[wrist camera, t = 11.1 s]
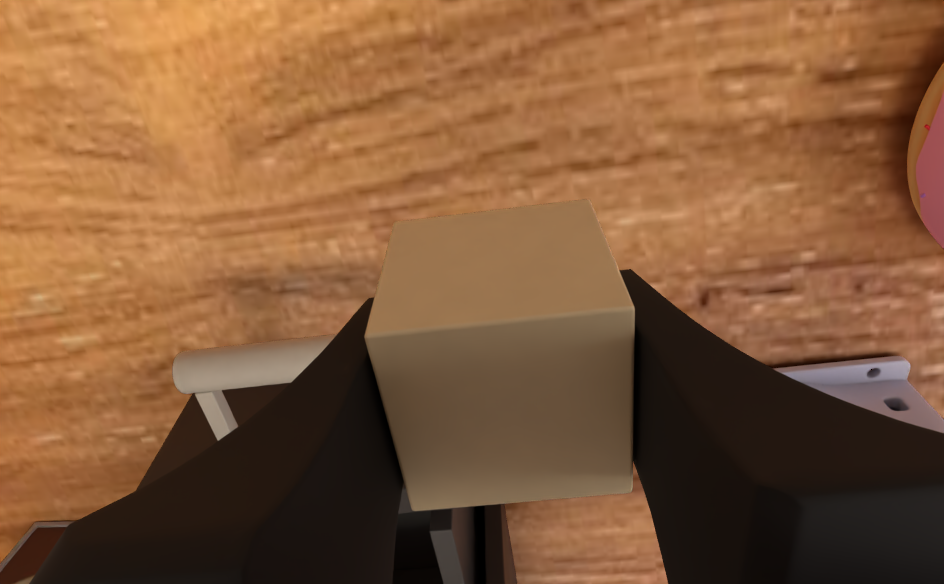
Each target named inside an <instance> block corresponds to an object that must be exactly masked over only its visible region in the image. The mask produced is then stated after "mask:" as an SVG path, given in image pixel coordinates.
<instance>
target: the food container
mask: <svg viewBox="0 0 944 584" xmlns="http://www.w3.org/2000/svg"><path fill="white" fill-rule="evenodd" d="M73 522H75V521H65V522H35V523H34V524H33V525H32V526H31V528H30V529H29V530H28V531H27V532H26V533H25V535H24V536H23V537H22V538H21V539H20V541H19V542H18V543H17V544H16V545H15V547H14V548H13V549H12V550H11V551H10V553H9V554H8V555H7V556H6V557H5V559H4V560H3V561H2V562H1V563H0V584H29V583H30V582H31V580H32V579H33V577H34V576H35V574H36V573H37V571H38V570H39V568H40V567H41V565H42V564H43V562H44V561H45V559H46V558H47V556H48V555H49V553H50V552H51V550H52V549H53V547H54V546H55V544H56V542H57V541H58V539H59V538H60V536H61V535H62V534H63V532H64V531H65V529H66V528H67V526H68V525H69V524H71V523H73Z"/></svg>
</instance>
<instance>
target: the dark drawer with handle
mask: <svg viewBox="0 0 944 584" xmlns="http://www.w3.org/2000/svg"><path fill="white" fill-rule="evenodd" d="M336 335H337V334H331V335H322V336H313V337H304V338H295V339H287V340H278V341H269V342H260V343H251V344H242V345H233V346H224V347H215V348H207V349H198V350H189V351H182V352H180V353H179V354H177V356H176V357H175V359H174V362H173V368H172V374H173V380H174V383H175V386H176V388H177V389H178V390H179V391H180V392H181V393H184V394H190V393H193V394H192V396H191V397H190V399H189V401H188V402H187V404H186V406H185V408H184V409H183V411H182V413H181V414H180V416H179V418H178V419H177V421H176V423H175V425H174V426H173V428H172V430H171V431H170V433H169V435H168V437H167V438H166V440H165V442H164V443H163V445H162V447H161V449H160V450H159V452H158V454H157V455H156V457H155V459H154V461H153V462H152V464H151V466H150V467H149V469H148V471H147V473H146V474H145V476H144V478H143V479H142V481H141V483H140V485H139V486H138V488H137V490H139V489H141V488H143V487H144V486H146V485H148V484H150V483H152V482H153V481H155V480H157V479H159V478H160V477H162V476H164V475H166V474H167V473H169V472H171V471H172V470H174V469H176V468H177V467H179V466H181V465H182V464H184V463H186V462H187V461H189V460H190V459H192V458H194V457H195V456H197V455H198V454H200V453H201V452H203V451H204V450H206V449H207V448H209V447H210V446H212V445H213V444H214V443H216V442H217V441H219V440H220V439H221V438H223V437H224V436H226V435H227V434H229V433H230V432H231V431H233V430H234V429H236V428H237V427H238V426H240V425H241V424H243V423H244V422H245V421H247V420H248V419H249V418H251V417H252V416H253V415H254V414H255V413H257V412H258V411H259V410H260V409H262V408H263V407H264V406H265V405H266V404H268V403H269V402H270V401H271V400H272V399H274V398H275V397H276V396H277V395H278V394H279V393H280V392H282V391H283V390H284V389H285V388H286V387H287V386H288V385H289V384H290V383H291V382H292V381H293V380H294V379H295V378H296V377H297V376H298V375H299V374H300V373H301V372H302V371H303V370H304V369H305V368H306V367H307V366H308V365H309V364H310V363H311V362H312V361H313V360H314V359H315V358H316V357H317V356H318V355H319V354H320V353H321V352H322V351H323V350H324V349H325V348H326V346H327V345H328V344H329V343H330V342H331V341H332V340H333V339H334V337H335V336H336ZM137 490H136V491H137ZM392 584H486V581H485V555H484V550H483V545H482V540H481V535H480V530H479V525H478V520H477V515H476V511H475V506H470V507H458V508H446V509H434V510H423V511H413V510H412V509H411V506H410V502H409V498H408V495H407V491H406V487H405V484H403V489H402V495H401V501H400V506H399V512H398V520H397V527H396V536H395V551H394V566H393V581H392Z"/></svg>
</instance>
